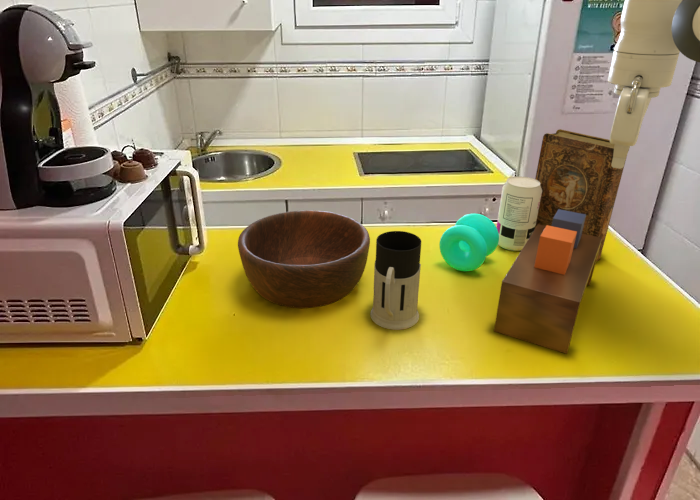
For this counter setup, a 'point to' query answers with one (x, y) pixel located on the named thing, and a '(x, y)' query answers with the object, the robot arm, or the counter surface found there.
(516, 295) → the shelf
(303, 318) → the counter surface
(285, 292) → the wooden bowl
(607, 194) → the book
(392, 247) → the glass holder
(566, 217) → the slate-blue box
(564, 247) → the orange box
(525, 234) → the supplement can
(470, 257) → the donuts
